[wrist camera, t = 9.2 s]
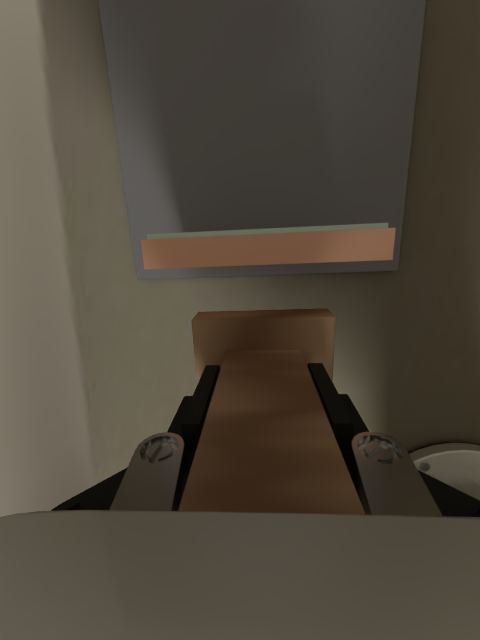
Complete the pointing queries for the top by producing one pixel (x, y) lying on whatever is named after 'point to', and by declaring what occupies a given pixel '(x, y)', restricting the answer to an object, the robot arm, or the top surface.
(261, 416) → the wooden block
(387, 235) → the tile
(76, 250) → the top surface
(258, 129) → the mat
